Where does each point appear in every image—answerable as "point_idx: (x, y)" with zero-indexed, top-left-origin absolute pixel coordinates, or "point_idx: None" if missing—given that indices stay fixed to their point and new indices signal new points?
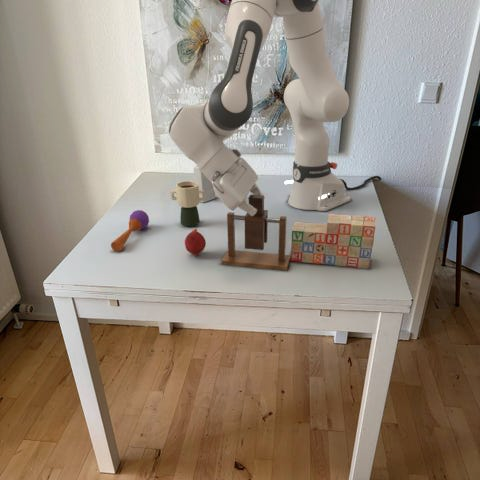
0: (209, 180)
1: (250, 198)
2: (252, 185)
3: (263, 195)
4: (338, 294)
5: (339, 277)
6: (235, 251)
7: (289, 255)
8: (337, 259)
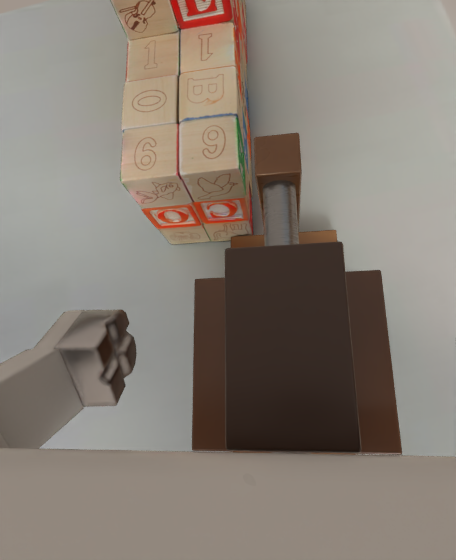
0: None
1: (358, 418)
2: (87, 456)
3: (60, 321)
4: (446, 48)
5: (327, 68)
6: None
7: (233, 241)
8: (245, 71)
